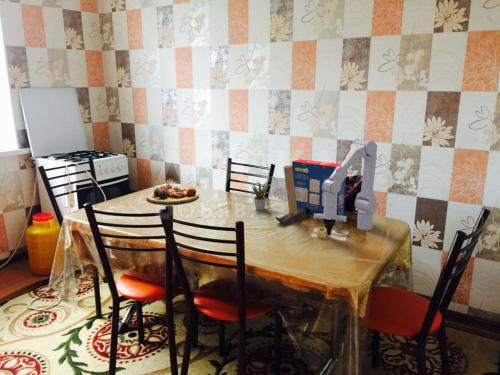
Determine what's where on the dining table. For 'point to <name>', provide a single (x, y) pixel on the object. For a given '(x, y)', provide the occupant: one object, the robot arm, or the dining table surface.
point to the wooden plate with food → (172, 195)
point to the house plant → (260, 196)
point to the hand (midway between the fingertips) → (329, 234)
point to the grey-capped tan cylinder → (338, 227)
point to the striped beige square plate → (332, 235)
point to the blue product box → (314, 185)
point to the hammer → (292, 200)
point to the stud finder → (322, 233)
